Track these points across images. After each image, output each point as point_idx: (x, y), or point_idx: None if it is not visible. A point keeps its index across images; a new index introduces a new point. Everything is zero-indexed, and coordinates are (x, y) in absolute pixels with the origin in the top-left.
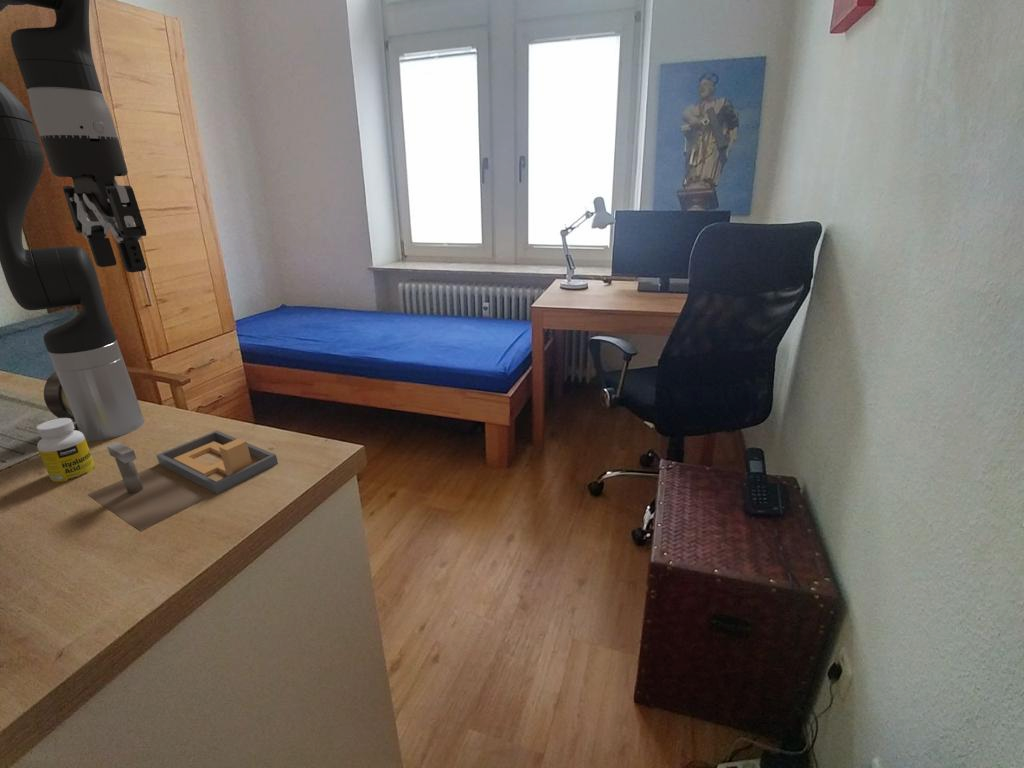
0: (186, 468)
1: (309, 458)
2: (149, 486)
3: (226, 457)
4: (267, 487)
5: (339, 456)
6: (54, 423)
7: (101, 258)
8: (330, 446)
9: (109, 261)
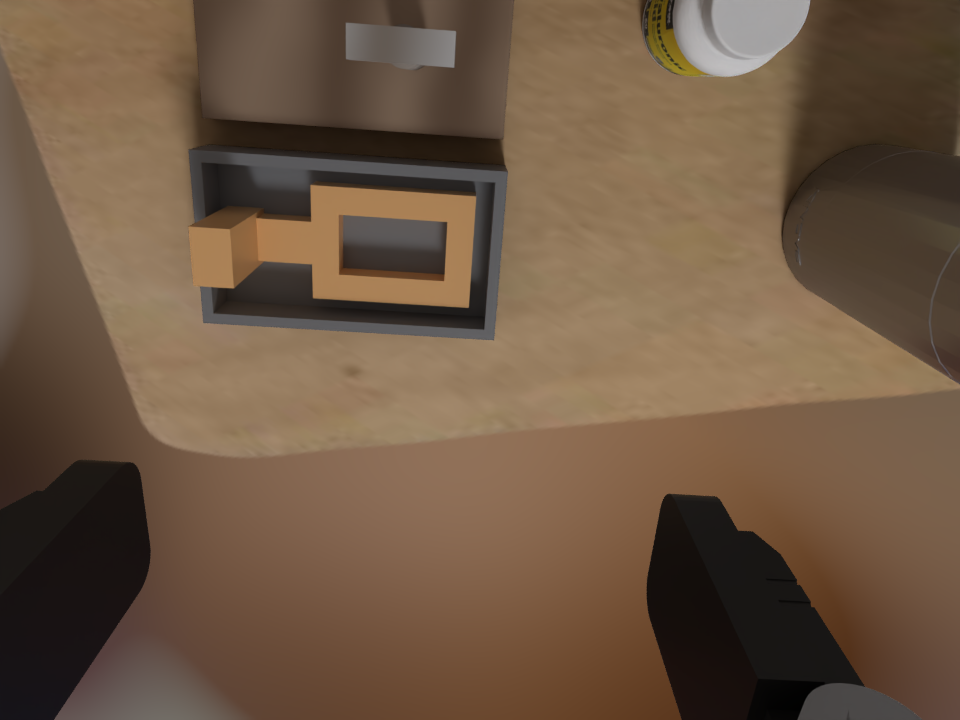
0: (346, 166)
1: (217, 380)
2: (399, 82)
3: (211, 222)
4: (176, 245)
5: (160, 418)
6: (762, 6)
7: (682, 564)
8: (226, 442)
9: (662, 584)
